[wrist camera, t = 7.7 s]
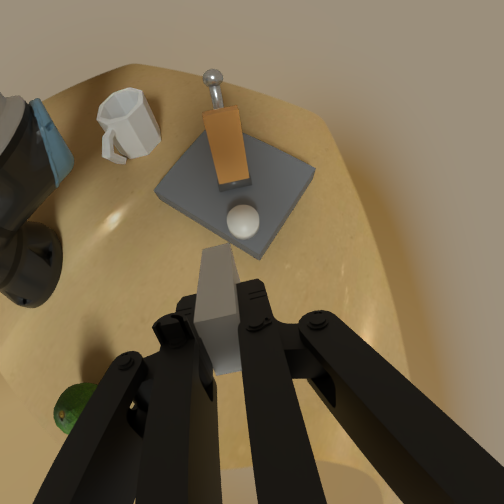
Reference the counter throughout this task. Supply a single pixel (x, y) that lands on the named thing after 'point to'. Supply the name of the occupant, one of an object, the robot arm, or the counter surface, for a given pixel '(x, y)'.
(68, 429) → the avocado
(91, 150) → the counter surface
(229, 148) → the paddle switch
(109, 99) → the mug
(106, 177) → the counter surface
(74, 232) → the counter surface
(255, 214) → the push button
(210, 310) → the robot arm
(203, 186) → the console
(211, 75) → the toggle lever
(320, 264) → the counter surface
